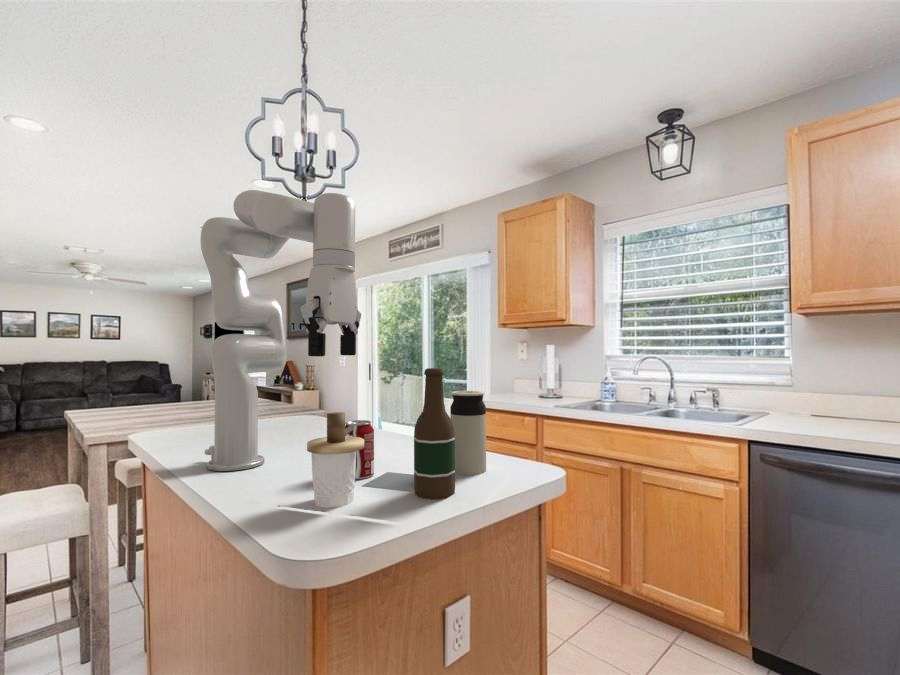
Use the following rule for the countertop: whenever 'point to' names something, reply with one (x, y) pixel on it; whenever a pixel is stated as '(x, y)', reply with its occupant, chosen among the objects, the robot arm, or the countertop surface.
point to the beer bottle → (434, 443)
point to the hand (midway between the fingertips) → (333, 355)
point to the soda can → (367, 453)
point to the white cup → (333, 479)
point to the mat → (393, 482)
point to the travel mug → (469, 432)
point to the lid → (335, 438)
